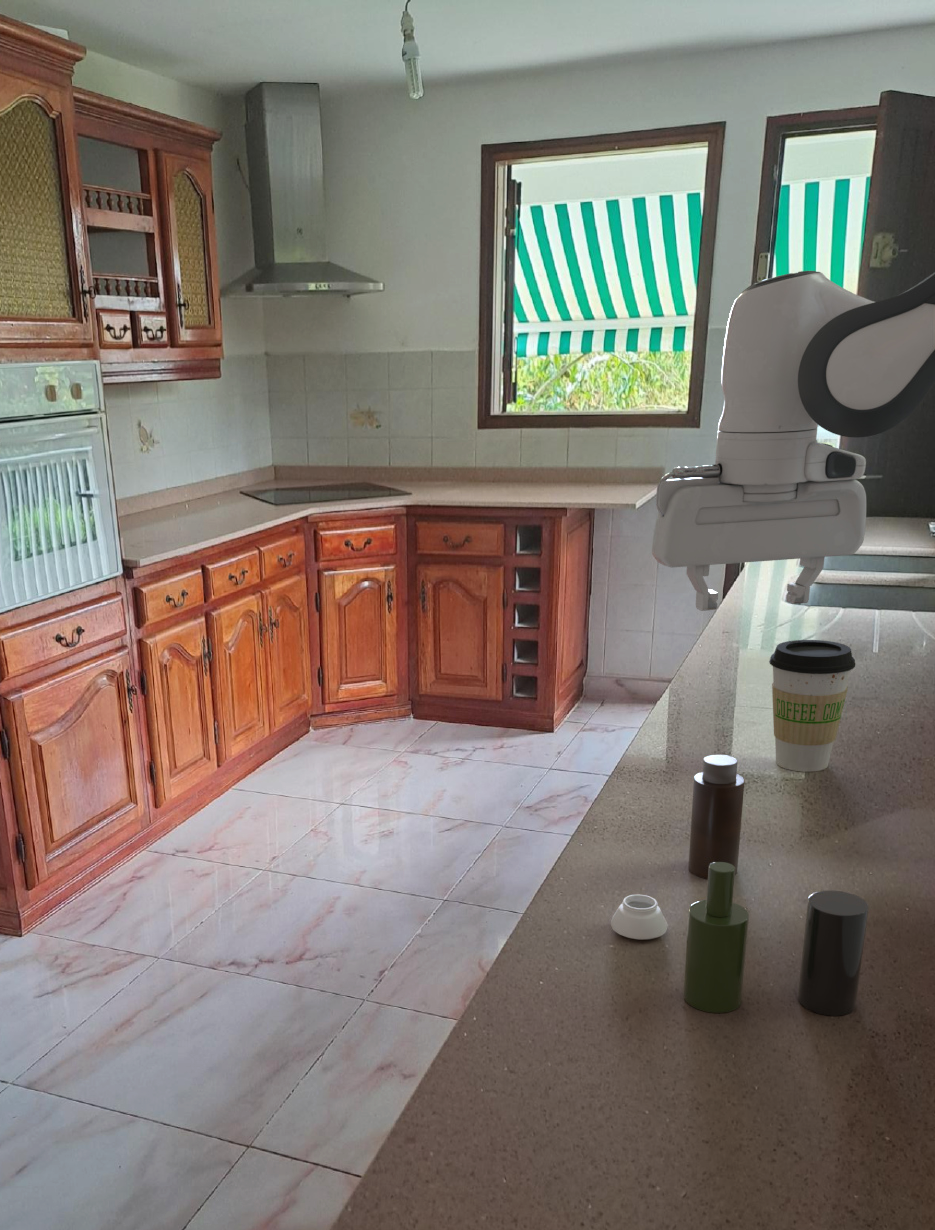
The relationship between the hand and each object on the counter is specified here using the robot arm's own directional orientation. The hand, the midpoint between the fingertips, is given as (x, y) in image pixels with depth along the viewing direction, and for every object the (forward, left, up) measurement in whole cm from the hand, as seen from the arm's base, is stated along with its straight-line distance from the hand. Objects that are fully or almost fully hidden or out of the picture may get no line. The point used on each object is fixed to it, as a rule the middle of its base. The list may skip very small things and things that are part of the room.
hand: (751, 606), depth 111 cm
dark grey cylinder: (-2, +31, -26) cm, 41 cm away
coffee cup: (-13, -26, -26) cm, 39 cm away
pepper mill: (+3, +6, -26) cm, 27 cm away
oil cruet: (+7, +31, -26) cm, 41 cm away
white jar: (+12, +20, -26) cm, 35 cm away
